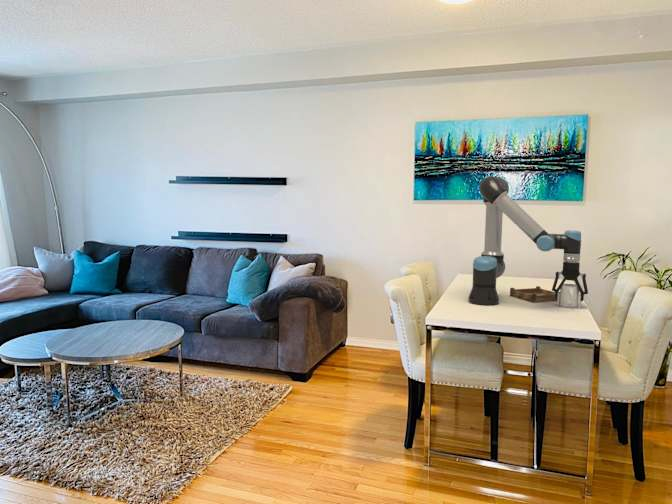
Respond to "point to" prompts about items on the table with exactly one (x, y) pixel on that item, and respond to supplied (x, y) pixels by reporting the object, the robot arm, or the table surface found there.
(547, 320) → the table surface
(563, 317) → the table surface
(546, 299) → the wooden tray
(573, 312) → the table surface
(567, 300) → the mug
